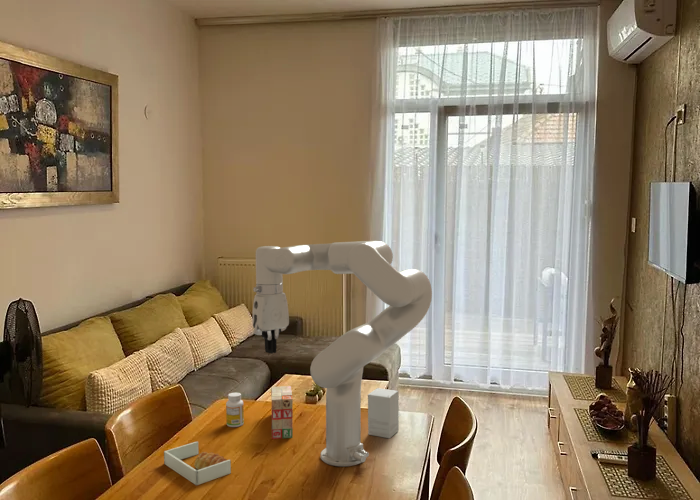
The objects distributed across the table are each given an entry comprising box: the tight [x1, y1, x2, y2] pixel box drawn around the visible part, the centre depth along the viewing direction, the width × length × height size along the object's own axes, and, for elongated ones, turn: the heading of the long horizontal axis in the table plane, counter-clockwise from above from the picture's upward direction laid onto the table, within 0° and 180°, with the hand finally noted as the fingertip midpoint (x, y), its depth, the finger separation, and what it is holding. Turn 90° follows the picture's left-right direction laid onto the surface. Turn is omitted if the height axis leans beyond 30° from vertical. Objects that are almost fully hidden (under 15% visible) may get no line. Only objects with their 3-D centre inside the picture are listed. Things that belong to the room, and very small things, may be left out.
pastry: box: [193, 451, 228, 470], centre depth 167 cm, size 9×7×4 cm
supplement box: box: [367, 387, 400, 439], centre depth 191 cm, size 7×7×13 cm
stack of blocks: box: [270, 385, 294, 440], centre depth 197 cm, size 21×6×12 cm, turn 7°
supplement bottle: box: [225, 392, 245, 428], centre depth 199 cm, size 5×5×10 cm
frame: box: [163, 441, 232, 486], centre depth 167 cm, size 17×10×4 cm, turn 43°
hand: (270, 352), depth 182 cm, fingers closed
